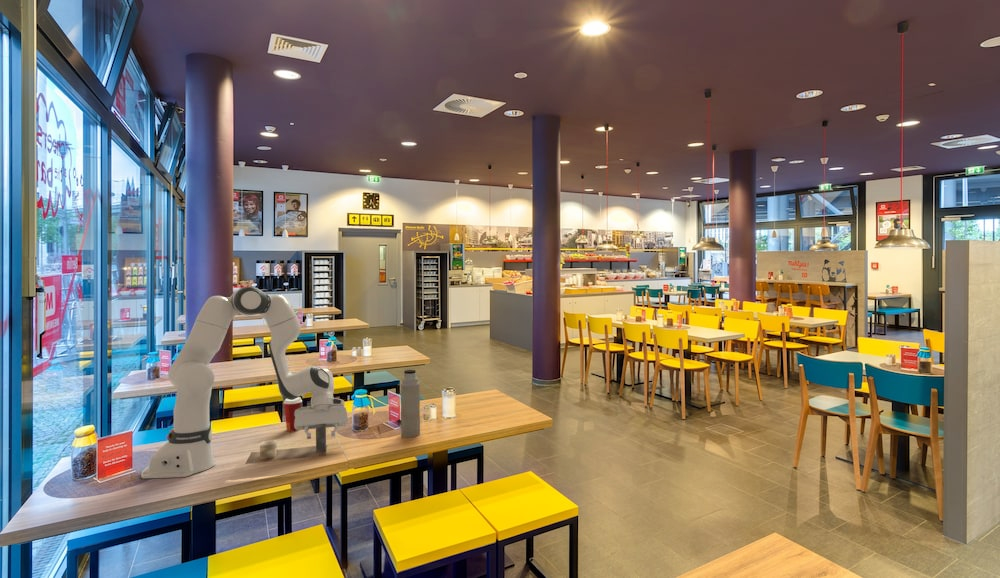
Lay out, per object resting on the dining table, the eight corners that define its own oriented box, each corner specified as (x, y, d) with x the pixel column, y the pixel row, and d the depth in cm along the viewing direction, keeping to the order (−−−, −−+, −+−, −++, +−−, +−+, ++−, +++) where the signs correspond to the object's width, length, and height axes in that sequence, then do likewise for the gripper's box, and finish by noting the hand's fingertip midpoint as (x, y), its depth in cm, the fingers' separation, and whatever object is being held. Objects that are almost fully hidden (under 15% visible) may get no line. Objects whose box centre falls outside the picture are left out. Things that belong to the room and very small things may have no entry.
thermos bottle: (417, 430, 223) (417, 368, 222) (421, 435, 215) (421, 371, 214) (399, 432, 220) (399, 369, 219) (403, 438, 212) (402, 372, 211)
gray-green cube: (260, 458, 188) (259, 445, 187) (262, 454, 192) (262, 441, 192) (274, 457, 189) (274, 444, 189) (276, 452, 194) (276, 440, 194)
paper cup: (305, 427, 228) (305, 396, 228) (297, 432, 221) (296, 401, 220) (289, 426, 229) (288, 396, 228) (280, 432, 221) (279, 400, 221)
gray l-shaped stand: (245, 465, 183) (244, 436, 183) (251, 454, 194) (250, 426, 194) (325, 457, 191) (325, 429, 190) (327, 446, 202) (327, 420, 202)
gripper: (294, 403, 199) (291, 435, 190) (347, 399, 205) (347, 430, 196) (295, 411, 204) (293, 443, 194) (348, 407, 209) (348, 438, 200)
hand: (321, 437), depth 195 cm, fingers open, 8 cm apart
